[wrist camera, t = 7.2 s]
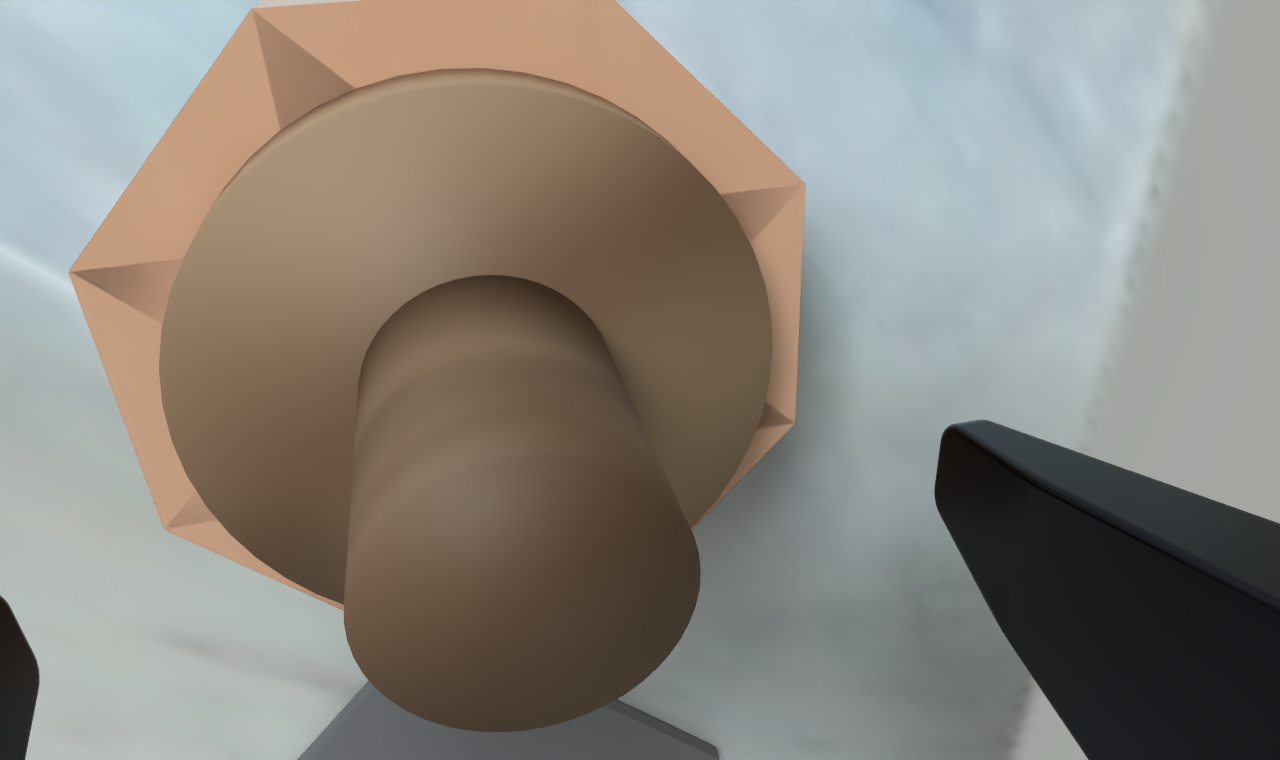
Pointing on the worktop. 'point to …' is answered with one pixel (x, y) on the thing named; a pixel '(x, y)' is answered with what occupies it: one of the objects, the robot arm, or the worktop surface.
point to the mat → (499, 737)
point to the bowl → (365, 54)
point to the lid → (472, 384)
